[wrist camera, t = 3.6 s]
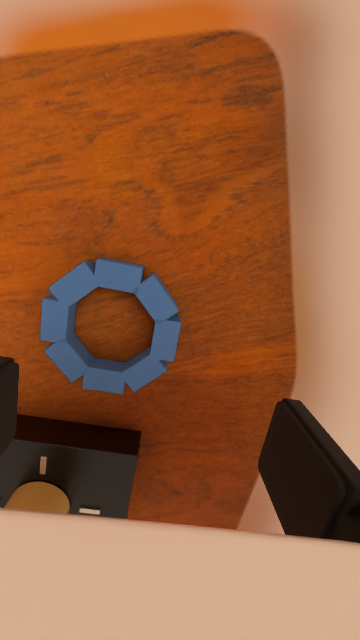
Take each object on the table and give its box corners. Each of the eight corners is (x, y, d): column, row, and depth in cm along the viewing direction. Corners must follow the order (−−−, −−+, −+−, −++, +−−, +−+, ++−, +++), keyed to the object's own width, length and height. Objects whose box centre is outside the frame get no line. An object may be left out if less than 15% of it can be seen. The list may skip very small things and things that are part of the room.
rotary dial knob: (72, 485, 19) (41, 563, 14) (67, 529, 20) (36, 615, 16) (11, 477, 19) (-41, 554, 14) (9, 523, 20) (-39, 609, 15)
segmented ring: (189, 273, 18) (190, 276, 16) (165, 389, 20) (165, 401, 19) (55, 248, 17) (44, 248, 16) (46, 370, 20) (36, 381, 18)
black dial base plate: (141, 431, 21) (137, 457, 19) (123, 531, 24) (117, 566, 21) (-26, 408, 20) (-54, 432, 18) (-26, 515, 23) (-51, 550, 20)
